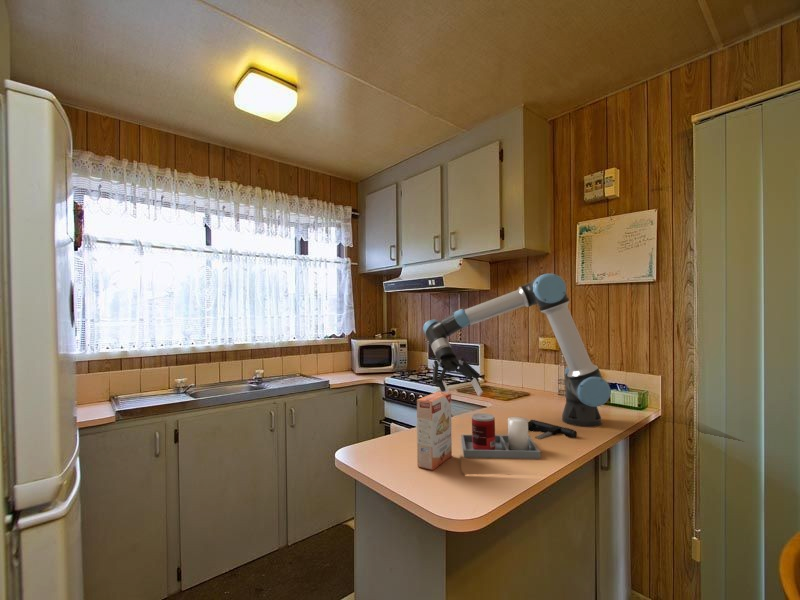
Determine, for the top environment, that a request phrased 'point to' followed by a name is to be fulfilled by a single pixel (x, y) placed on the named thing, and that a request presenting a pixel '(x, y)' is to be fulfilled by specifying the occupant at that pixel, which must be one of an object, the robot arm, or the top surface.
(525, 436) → the ceramic jar
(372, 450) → the top surface
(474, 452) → the caddy
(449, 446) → the cracker box
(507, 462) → the top surface
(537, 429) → the toy submachine gun
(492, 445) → the canned food
